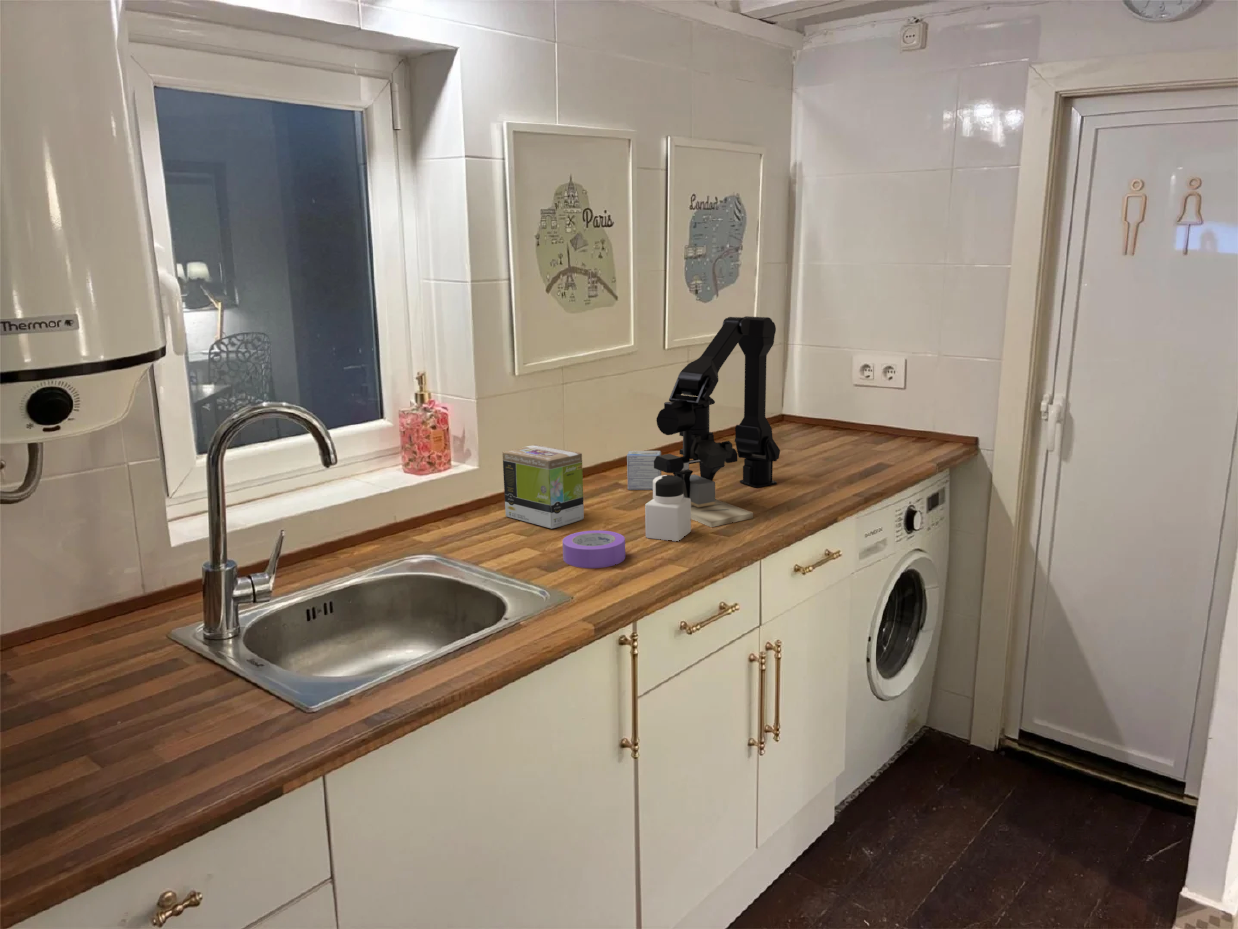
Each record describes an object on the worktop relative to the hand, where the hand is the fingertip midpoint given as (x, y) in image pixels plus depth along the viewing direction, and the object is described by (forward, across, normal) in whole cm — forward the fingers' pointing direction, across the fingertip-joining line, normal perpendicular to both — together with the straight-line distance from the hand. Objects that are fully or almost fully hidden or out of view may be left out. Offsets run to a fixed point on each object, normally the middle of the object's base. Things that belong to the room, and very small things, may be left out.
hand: (696, 497), depth 206 cm
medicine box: (+3, 0, +21) cm, 21 cm away
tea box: (+3, -31, +12) cm, 34 cm away
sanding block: (+1, 0, 0) cm, 1 cm away
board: (+2, 0, -2) cm, 3 cm away
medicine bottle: (+3, -16, -12) cm, 20 cm away
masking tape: (+3, -35, -16) cm, 38 cm away
